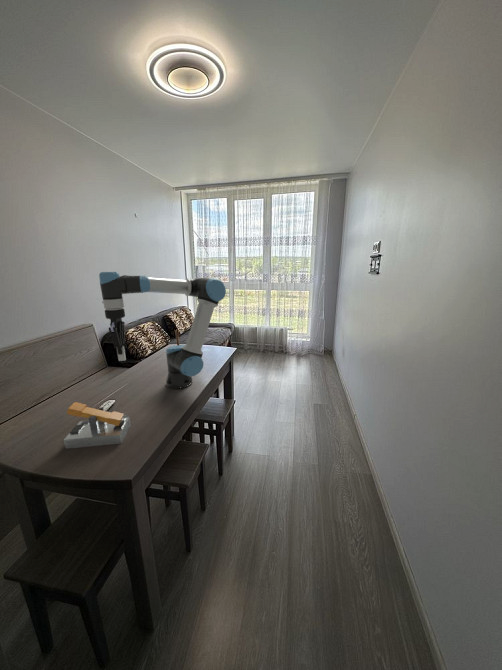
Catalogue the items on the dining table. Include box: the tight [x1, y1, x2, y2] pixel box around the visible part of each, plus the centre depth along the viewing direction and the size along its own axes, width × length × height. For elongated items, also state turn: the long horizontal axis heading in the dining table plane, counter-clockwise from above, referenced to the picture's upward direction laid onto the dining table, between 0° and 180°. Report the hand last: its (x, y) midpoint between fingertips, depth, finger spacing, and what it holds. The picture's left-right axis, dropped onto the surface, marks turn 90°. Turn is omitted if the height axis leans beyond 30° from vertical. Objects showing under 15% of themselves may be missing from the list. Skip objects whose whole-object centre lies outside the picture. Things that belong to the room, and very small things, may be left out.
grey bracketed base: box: [63, 406, 132, 450], centre depth 102 cm, size 20×12×11 cm, turn 98°
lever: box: [66, 401, 125, 426], centre depth 101 cm, size 19×5×3 cm, turn 98°
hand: (122, 360), depth 114 cm, fingers closed
